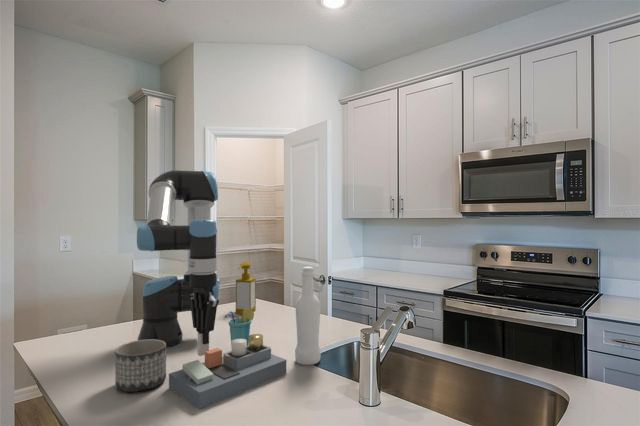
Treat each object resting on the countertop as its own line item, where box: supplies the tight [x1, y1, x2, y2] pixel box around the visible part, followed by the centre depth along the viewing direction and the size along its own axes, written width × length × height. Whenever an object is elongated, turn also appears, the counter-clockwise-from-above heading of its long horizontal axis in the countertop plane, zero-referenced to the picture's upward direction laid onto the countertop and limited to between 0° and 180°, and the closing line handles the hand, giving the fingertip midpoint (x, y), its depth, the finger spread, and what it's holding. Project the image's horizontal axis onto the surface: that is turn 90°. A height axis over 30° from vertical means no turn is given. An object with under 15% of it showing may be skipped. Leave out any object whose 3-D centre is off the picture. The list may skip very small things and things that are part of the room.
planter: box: [114, 339, 167, 392], centre depth 106 cm, size 13×13×10 cm
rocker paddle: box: [181, 359, 214, 384], centre depth 101 cm, size 8×4×1 cm, turn 47°
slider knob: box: [204, 347, 223, 368], centre depth 108 cm, size 2×4×4 cm, turn 137°
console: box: [168, 344, 287, 410], centre depth 108 cm, size 16×28×7 cm, turn 137°
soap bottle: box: [235, 261, 257, 315], centre depth 179 cm, size 7×13×24 cm, turn 170°
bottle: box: [294, 266, 322, 366], centre depth 122 cm, size 8×8×30 cm
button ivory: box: [231, 339, 247, 356], centre depth 110 cm, size 4×4×4 cm
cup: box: [224, 308, 255, 348], centre depth 129 cm, size 14×8×15 cm, turn 156°
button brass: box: [248, 333, 264, 350], centre depth 115 cm, size 4×4×4 cm
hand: (203, 354), depth 111 cm, fingers closed
